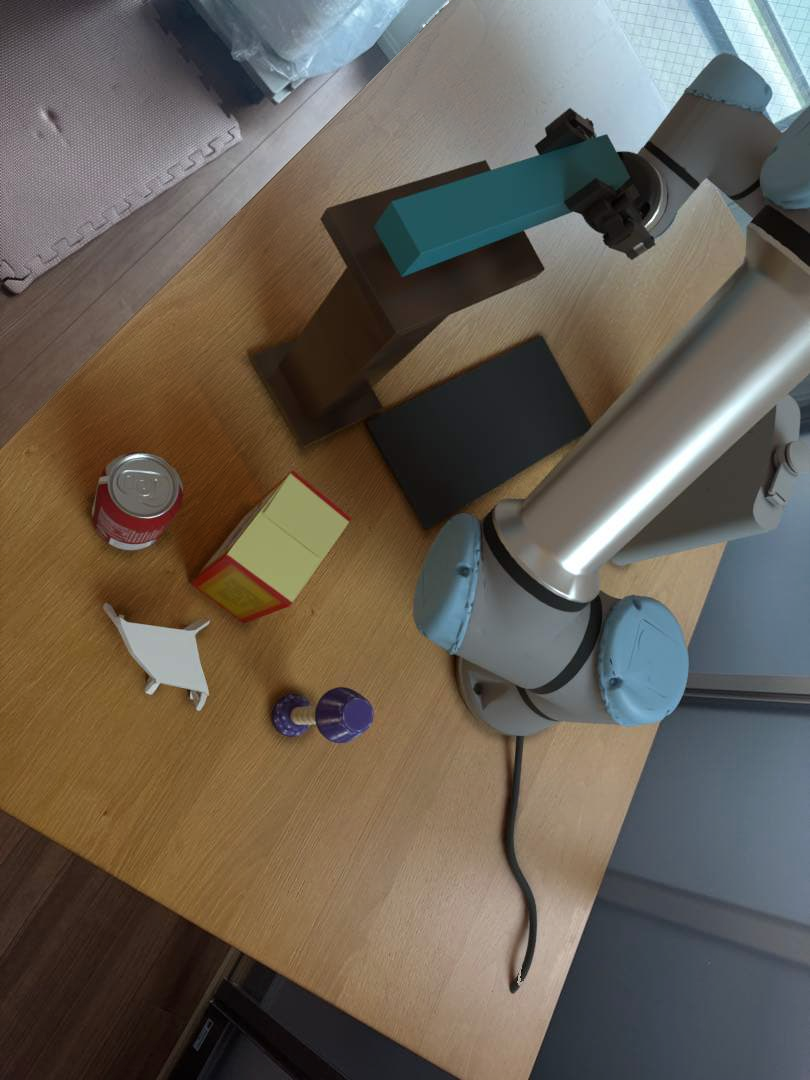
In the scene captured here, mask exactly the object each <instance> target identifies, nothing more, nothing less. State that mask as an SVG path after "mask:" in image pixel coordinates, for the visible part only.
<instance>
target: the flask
mask: <svg viewBox="0 0 810 1080" xmlns="http://www.w3.org/2000/svg"><path fill="white" fill-rule="evenodd" d="M800 429H801V408H800V407H799V405H798V402H797V401H796V400H795V399H794V397H793V396H791V395H790V394H789V393H788V394H787V395H786V396H785V397H784V398H783V399H782V400H781V401H779V402H778V403H777V404H776V405H775V406H774V407H773V408H772V409H771V410H770V411H769V412H768V413H767V414H765V415H764V416H763V417H762V418H761V419H760V420H759V421H758V422H757V423H756V424H755V425H754V426H753V427H751V428H750V429H749V430H748V431H747V432H746V433H745V434H744V435H743V436H742V437H741V438H740V439H739V440H737V441H736V442H735V443H734V444H733V445H732V446H731V447H730V448H729V449H728V450H727V451H726V452H725V453H723V454H722V455H721V456H720V457H719V458H718V459H717V460H716V461H715V462H714V463H713V464H712V465H711V466H710V467H708V468H707V469H706V470H705V471H704V472H703V473H702V474H701V475H700V476H699V477H698V478H697V479H696V480H694V481H693V482H692V483H691V484H690V485H689V486H688V487H687V488H686V489H685V490H684V491H683V492H682V493H680V494H679V495H678V496H677V497H676V498H675V499H674V500H673V501H672V502H671V503H670V504H669V505H668V506H666V507H665V508H664V509H663V510H662V511H661V512H660V513H659V514H658V515H657V516H656V517H655V518H654V519H652V520H651V521H650V522H649V523H648V524H647V525H646V526H645V527H644V528H643V529H642V530H641V531H640V532H639V533H637V534H636V535H635V536H634V537H633V538H632V539H631V540H630V541H629V542H628V543H627V544H626V545H625V546H623V547H622V548H621V549H620V550H619V551H618V552H617V553H616V554H615V555H614V556H613V557H612V558H611V559H609V561H610V562H612V564H614V565H616V566H620V567H622V566H626V565H630V564H634V563H635V564H636V563H638V562H643V561H647V560H652V559H657V558H661V557H664V556H669V555H674V554H678V553H683V552H687V551H691V550H697V549H700V548H704V547H709V546H713V545H717V544H721V543H726V542H730V541H735V540H738V539H743V538H747V537H752V536H756V535H760V534H764V533H768V532H773V531H775V530H776V529H777V527H778V526H779V524H780V521H781V519H782V515H783V513H784V509H785V508H786V507H787V506H788V504H789V500H790V498H791V495H792V493H793V489H794V487H795V484H796V481H797V479H798V476H799V475H806V474H808V473H810V447H809V446H808V444H807V443H806V442H804V441H802V440H800Z"/></svg>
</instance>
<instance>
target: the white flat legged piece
mask: <svg viewBox="0 0 810 1080" xmlns="http://www.w3.org/2000/svg"><path fill="white" fill-rule="evenodd" d="M102 609H103V610H104V612H105V613H106V615H107V616H108V617H109V618H110V620H111V621H112V622H113V623H114V625H115V627H116V629H117V630H118V632H119V634H120V636H121V638H122V640H123V643H124V644H125V647H126V650H127V651H128V653H129V655H131V657H132V659H134V660H135V661H136V662H137V664H138V665H139V666H140V667H141V668H142V669H143V671H145V673H146V674H147V675H148V676H149V677H148V679H147V680H146V684H145V687H144V693H145V694H147V695H150V696H152V695H153V694H154V693H155V691H156V690H157V688H158V687H159V685H160V684H163V685H166V686H167V685H168V686H170V687H171V686H172V687H177V688H181V689H185V690H190V692H189V693H190V694H189V699H190V700H193V704H194V707H195V708H194V709H195V710H197V711H198V712H201V710H202V709H203V707H204V706H205V704H206V701H207V698H208V696H210V692H209V687H208V684H207V680H206V675H205V673H204V670H203V667H202V663H201V660H200V659H201V658H200V654H199V649H198V644H197V639H196V635H197V634H198V633H199V631H201V630H202V629H204V628H205V627H207V626H208V625H209V624H210V622H211V619H207V618H198V619H197V620H195V621H194V622H192V623H190V624H189V625H187V626H185V627H184V628H182V629H179V628H172V627H166V626H165V627H164V626H159V625H158V626H157V625H150V624H143V623H137V622H130V621H126V619H125V615H123V614H121V613H120V614H119V615H117V613H116V612H115V610H114V608H113V606H112V605H111V604H109V603H107V602H104V604H103V606H102ZM197 692H200V696H199V695H198V693H197Z"/></svg>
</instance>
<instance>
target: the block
mask: <svg viewBox="0 0 810 1080" xmlns="http://www.w3.org/2000/svg"><path fill="white" fill-rule="evenodd" d="M617 152H618V151H617V149H616V148H615V146H614V144H613V143H612V141H611V139H610V137H609V134H607V133H605V134H602V135H599V136H596V137H595V138H592V139H589V140H586V141H583V142H580V143H576V144H573V145H570V146H567V147H563V148H560V149H557V150H554V151H551V152H547V153H544V154H541V155H539V154H537V155H535V156H532V157H528V158H526V159H522V160H519V161H516V162H512V163H509V164H506V165H503V166H499V167H495V168H493V169H491V170H490V171H487V172H483V173H480V174H477V175H474V176H470V177H467V178H464V179H461V180H458V181H454V182H451V183H448V184H445V185H442V186H438V187H435V188H432V189H429V190H426V191H422V192H419V193H416V194H413V195H410V196H406V197H403V198H400V199H397V200H394V201H391V203H390V204H389V205H388V207H387V208H386V210H385V211H384V213H383V214H382V215H381V217H380V218H379V220H378V221H377V223H376V224H375V226H374V228H375V230H376V232H377V233H378V235H379V237H380V239H381V241H382V242H383V244H384V246H385V248H386V250H387V251H388V253H389V255H390V257H391V258H392V260H393V262H394V264H395V266H396V267H397V269H398V271H399V273H400V275H401V276H402V277H403V276H406V275H408V274H411V273H414V272H416V271H419V270H421V269H424V268H427V267H429V266H432V265H435V264H437V263H440V262H442V261H445V260H448V259H450V258H453V257H456V256H458V255H461V254H464V253H466V252H469V251H471V250H474V249H477V248H479V247H482V246H485V245H487V244H490V243H493V242H495V241H498V240H500V239H503V238H506V237H508V236H511V235H514V234H516V233H519V232H521V231H526V230H530V229H532V228H535V227H537V226H540V225H542V224H545V223H548V222H550V221H553V220H556V219H558V218H561V217H564V216H566V215H569V214H571V213H574V212H573V211H570V210H569V209H568V207H567V205H566V203H565V201H566V200H567V199H568V198H570V197H571V196H572V195H574V194H575V193H576V192H578V191H579V190H580V189H582V188H583V187H584V186H586V185H587V184H589V183H590V182H591V181H593V180H594V179H595V178H597V179H599V180H601V181H602V182H604V183H606V184H607V185H609V186H611V187H612V188H613V189H614V191H616V190H617V189H618V188H619V187H620V186H621V185H623V184H624V183H625V182H626V181H627V180H628V179H629V178H630V176H629V174H628V172H627V170H626V169H625V167H624V165H623V163H622V161H621V159H620V157H619V155H618V154H617Z"/></svg>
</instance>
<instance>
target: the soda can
mask: <svg viewBox="0 0 810 1080" xmlns="http://www.w3.org/2000/svg"><path fill="white" fill-rule="evenodd" d="M97 483H98V484H97V487H96V492H95V495H94V499H93V504H92V508H91V522H92V525H93V528H94V530H95V532H96V534H97V535H98V537H100V539H101V540H102V541H103V542H105V543H106V544H107V545H109V546H111V547H113V548H115V549H118V550H122V551H127V552H128V551H129V552H131V551H140V550H143V549H146V548H149V547H150V546H152V545H153V544H155V543H156V542H157V541H158V540H159V539H160V538H161V537H162V535H163V534H164V533H165V531H166V530H167V528H168V527H169V526H170V524H171V523H172V521H173V520H174V518H175V517H176V516H177V514H178V513H179V511H180V509H181V506H182V504H183V500H184V487H183V483H182V480H181V477H180V475H179V473H178V472H177V470H176V469H175V468H174V466H173V465H171V464H170V463H169V462H168V461H167V460H165V459H164V458H162V457H161V456H158V455H156V454H154V453H149V452H145V451H134V452H133V451H132V452H127V453H124V454H121V455H119V456H117V457H116V458H114V459H112V460H111V461H110V462H109V463H108V464H107V465H106V466H105V467H104V468H103V470H102V472H101V474H100V476H99V478H98V482H97Z"/></svg>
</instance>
